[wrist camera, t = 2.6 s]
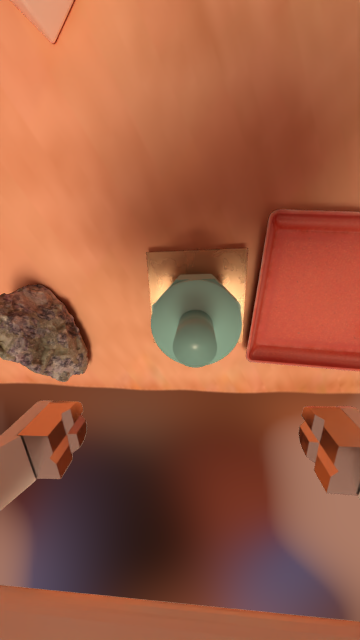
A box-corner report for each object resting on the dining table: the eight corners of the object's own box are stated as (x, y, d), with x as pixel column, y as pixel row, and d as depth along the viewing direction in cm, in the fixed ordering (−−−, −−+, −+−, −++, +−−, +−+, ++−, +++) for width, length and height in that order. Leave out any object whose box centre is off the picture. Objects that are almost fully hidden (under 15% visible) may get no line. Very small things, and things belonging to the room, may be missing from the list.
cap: (234, 272, 20) (260, 287, 11) (231, 342, 22) (251, 398, 13) (158, 275, 20) (130, 290, 12) (163, 342, 22) (142, 395, 14)
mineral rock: (95, 365, 32) (52, 413, 23) (32, 362, 33) (-36, 406, 23) (84, 284, 28) (26, 300, 19) (12, 282, 29) (-79, 296, 19)
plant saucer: (240, 351, 30) (245, 363, 26) (261, 214, 24) (271, 208, 21) (371, 361, 28) (392, 375, 25) (426, 219, 23) (463, 213, 19)
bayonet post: (245, 248, 25) (276, 245, 15) (239, 338, 28) (262, 384, 19) (149, 252, 26) (118, 251, 16) (156, 338, 30) (134, 381, 20)
